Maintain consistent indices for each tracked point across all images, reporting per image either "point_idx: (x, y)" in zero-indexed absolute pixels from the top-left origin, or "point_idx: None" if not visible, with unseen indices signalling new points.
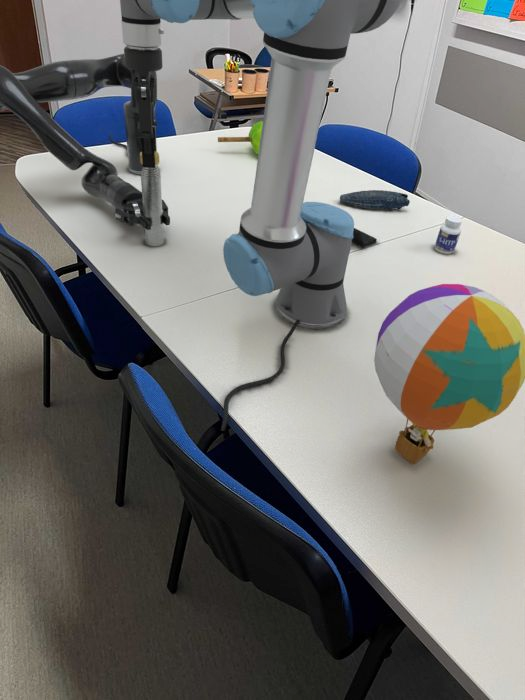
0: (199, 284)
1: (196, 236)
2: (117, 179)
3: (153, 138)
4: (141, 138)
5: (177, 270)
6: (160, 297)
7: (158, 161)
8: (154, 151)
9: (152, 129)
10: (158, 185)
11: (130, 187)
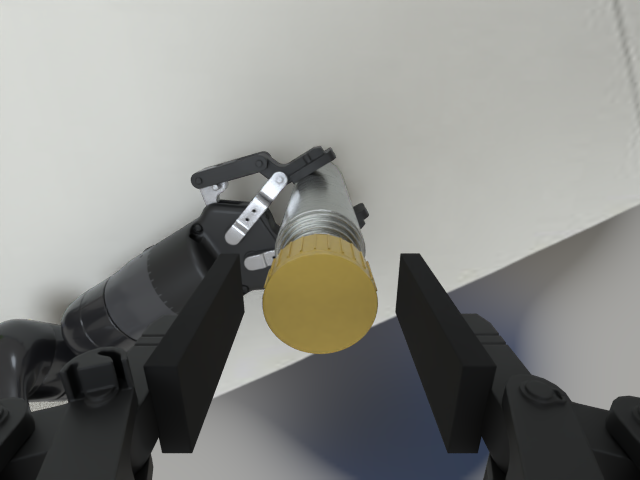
0: (556, 59)
1: (278, 60)
2: (111, 328)
3: (493, 362)
4: (473, 440)
5: (474, 120)
6: (591, 161)
7: (342, 241)
8: (425, 295)
9: (521, 434)
10: (347, 209)
11: (176, 288)
